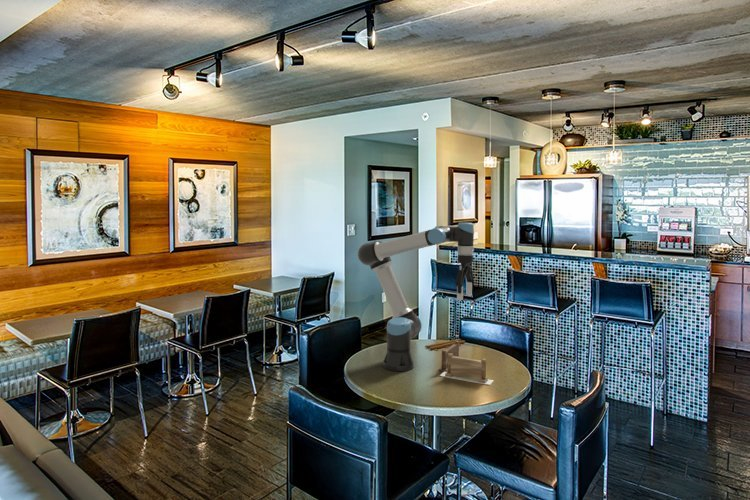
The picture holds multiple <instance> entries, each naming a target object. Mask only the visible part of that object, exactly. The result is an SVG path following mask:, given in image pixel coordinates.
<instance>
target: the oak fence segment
mask: <svg viewBox="0 0 750 500" xmlns="http://www.w3.org/2000/svg"><path fill="white" fill-rule="evenodd" d="M480 359H481V360H480ZM480 359H474V358H467V357H461V356H459V357H457V356H453V354H452V353H448V372H447V373H445V376H450V377H452V376H456V377H461V378H467V379H472V380H478V381H479V382H483V383H485V382H486V381H487V380H488V379H489V377H487V359H486V358H480Z"/></svg>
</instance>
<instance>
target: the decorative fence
mask: <svg viewBox="0 0 750 500" xmlns="http://www.w3.org/2000/svg"><path fill="white" fill-rule="evenodd" d="M455 341H459V347H461V344H465V343H466V340H462V339H461V338H458V339H453V340H452V339H451V340H447V341H443V342H442V341H441V342H438V343H434V344H428V345H425V346H424V347H425V348H427V349H429V350H433V351H435V350H436V351H438V352H439V349H441V348H445V349H448V348H449V347H450V346H452V345H453V344H455Z"/></svg>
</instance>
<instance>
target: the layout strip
mask: <svg viewBox="0 0 750 500" xmlns="http://www.w3.org/2000/svg"><path fill="white" fill-rule="evenodd" d="M445 373H447V372H442V373H440V374H439V377H443V378H448V379H453V380H460V381H464V382H470V383H475V384H481V385H486V386H491V385H492V384H493V383H494V379H489V378H488V380H487V381H486V382H485V383H483V382H479V381H478V380H472V379H467V378H461V377H456V376H452V377H450V376H445Z"/></svg>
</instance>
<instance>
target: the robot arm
mask: <svg viewBox="0 0 750 500" xmlns="http://www.w3.org/2000/svg"><path fill="white" fill-rule="evenodd" d="M474 228H475V226H474V224H473V222H459V223H458V224H457V226H449V225H448V226H447V225H446V226H444V225H440V226H438V225H437V226H435V227H433V228H432V229H427V230H424V231H421V232H420V231H419V232H415V233H413V234H408V235H406V236H402V237H397V238H394V239H391V240H386V241H382V240H381V241H380V240H374V241H370V242H365V243H364V244H362V245H361V246H359V248H358V251H357V256H358V257H357V259H358V260H359V261H360V263H362V264H363V265H365V266H369V267H370V269H371V271H373V272H375V274H376V276H377V279H378V281H379V283H380V286H381V288H382V290H383V293H384V296H385V298H386V300H387V302H388V304H389V307H390V308H391V309H390V310H391V311H392V314H393V315H392V318H391V319H389V320H388V321H387V324H386V352H385V355H384V358H383V362H382V363H383V366H382V367H383V368H384V369H386V370H388V371H392V372H406V371H410V370H413V369H414V365H415V363H414V361H415V360H414V359H413V356H412V351H411V341H412V340H413V339H414V338H416V337H417V336H418V335H419V334H420V332H421V331H422V326H423V325H422V324H423V323H422V320H421V318H420V317H419V316H418V315H417V314H415V312H414V310H413V309H412V308H410V307H409V306H408V303H407V300H406V298H405V296H404V294H403V291H402V288H401V287H400V284H399V283H398V279H397V278H396V274H395V273H394V270H393V268H392V262H393V260H392V258H391V257H392V256H398V255H401V254H405V253H408V252H412V251H416V250H420V249H424V248H427V247H433V246H436V245H440V244H443V243H447V242H448V243H457V263H458V264H459V263H460V265H458V266H457V274H456V278H455V279H456V280H455V287H456V300H458V301H463V300H464V286H463V285H464V280H465V279H466V281H467V282H466V283H465V284H466V286H465V287H466V289H465V290H466V291H465V292H466V293H465V296H472V295H473V283H474V282H475V278H474V270H473V262H474V251H475V248H474V241H475V240H474V235H475V232H474V231H475V230H474Z"/></svg>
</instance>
